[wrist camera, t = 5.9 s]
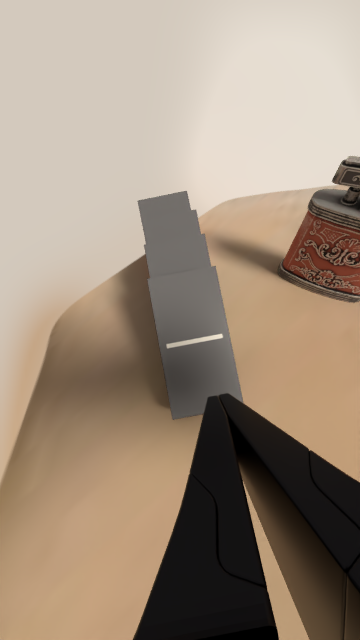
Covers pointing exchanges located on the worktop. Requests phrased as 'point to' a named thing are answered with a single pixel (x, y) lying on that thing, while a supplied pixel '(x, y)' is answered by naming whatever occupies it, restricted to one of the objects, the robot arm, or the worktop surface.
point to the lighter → (329, 240)
